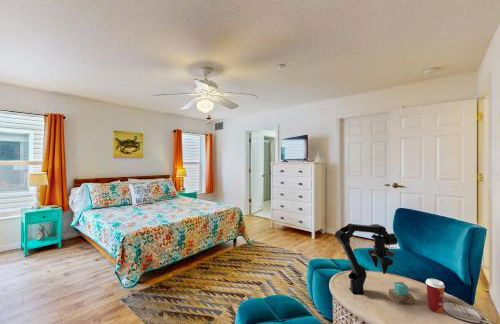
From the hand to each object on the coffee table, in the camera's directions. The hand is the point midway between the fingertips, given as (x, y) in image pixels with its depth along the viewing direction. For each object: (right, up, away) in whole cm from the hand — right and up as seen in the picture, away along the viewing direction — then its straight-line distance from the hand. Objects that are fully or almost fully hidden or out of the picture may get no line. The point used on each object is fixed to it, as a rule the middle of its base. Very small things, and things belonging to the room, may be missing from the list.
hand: (380, 270), depth 148 cm
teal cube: (+6, -8, -11) cm, 15 cm away
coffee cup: (+18, -12, -21) cm, 30 cm away
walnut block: (+6, -12, -11) cm, 18 cm away
